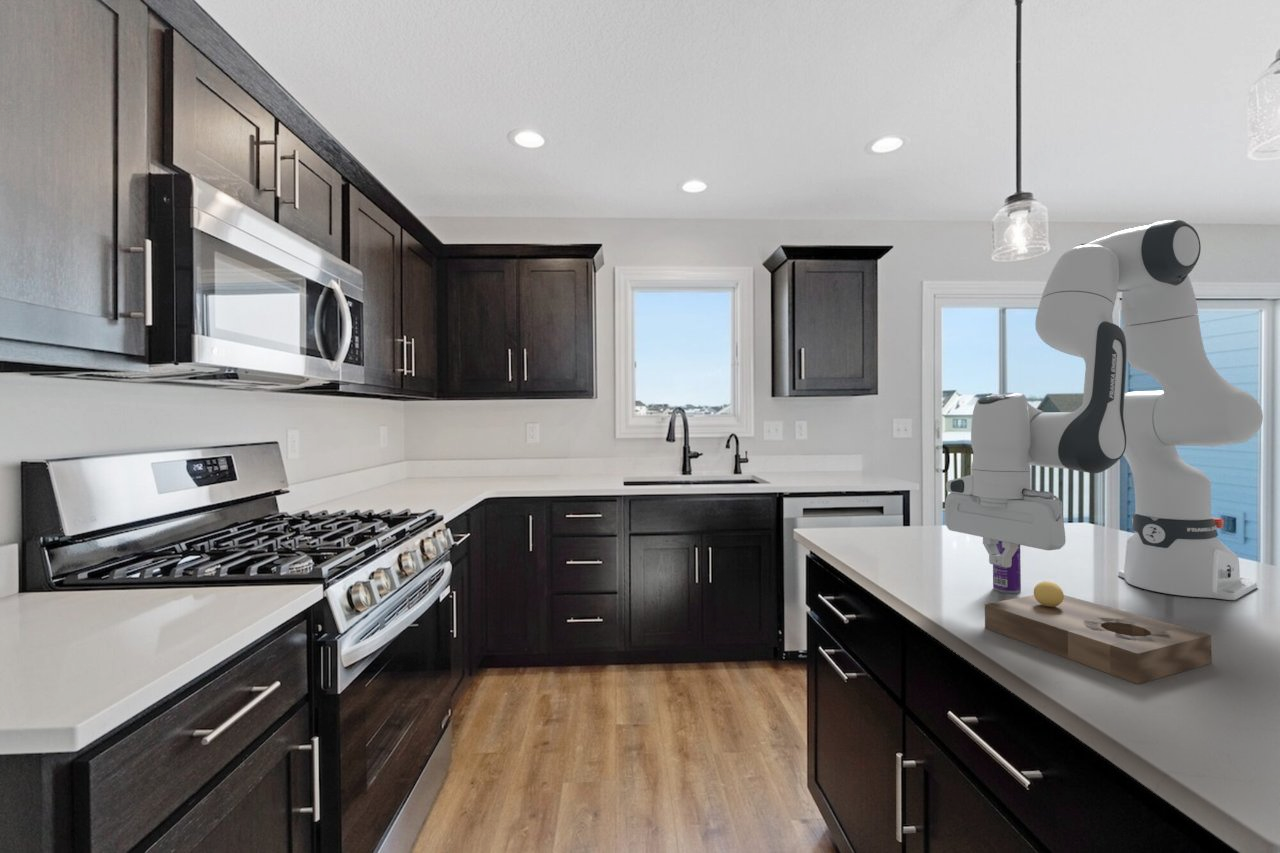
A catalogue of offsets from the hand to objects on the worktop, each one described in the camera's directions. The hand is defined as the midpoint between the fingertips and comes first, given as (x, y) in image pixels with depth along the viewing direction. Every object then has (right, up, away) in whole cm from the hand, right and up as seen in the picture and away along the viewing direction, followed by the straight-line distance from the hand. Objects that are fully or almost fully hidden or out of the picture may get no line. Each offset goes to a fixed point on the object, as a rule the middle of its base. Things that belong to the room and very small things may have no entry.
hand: (1000, 565), depth 101 cm
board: (+5, -9, -13) cm, 17 cm away
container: (+10, -9, +14) cm, 20 cm away
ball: (+3, -3, -7) cm, 8 cm away
